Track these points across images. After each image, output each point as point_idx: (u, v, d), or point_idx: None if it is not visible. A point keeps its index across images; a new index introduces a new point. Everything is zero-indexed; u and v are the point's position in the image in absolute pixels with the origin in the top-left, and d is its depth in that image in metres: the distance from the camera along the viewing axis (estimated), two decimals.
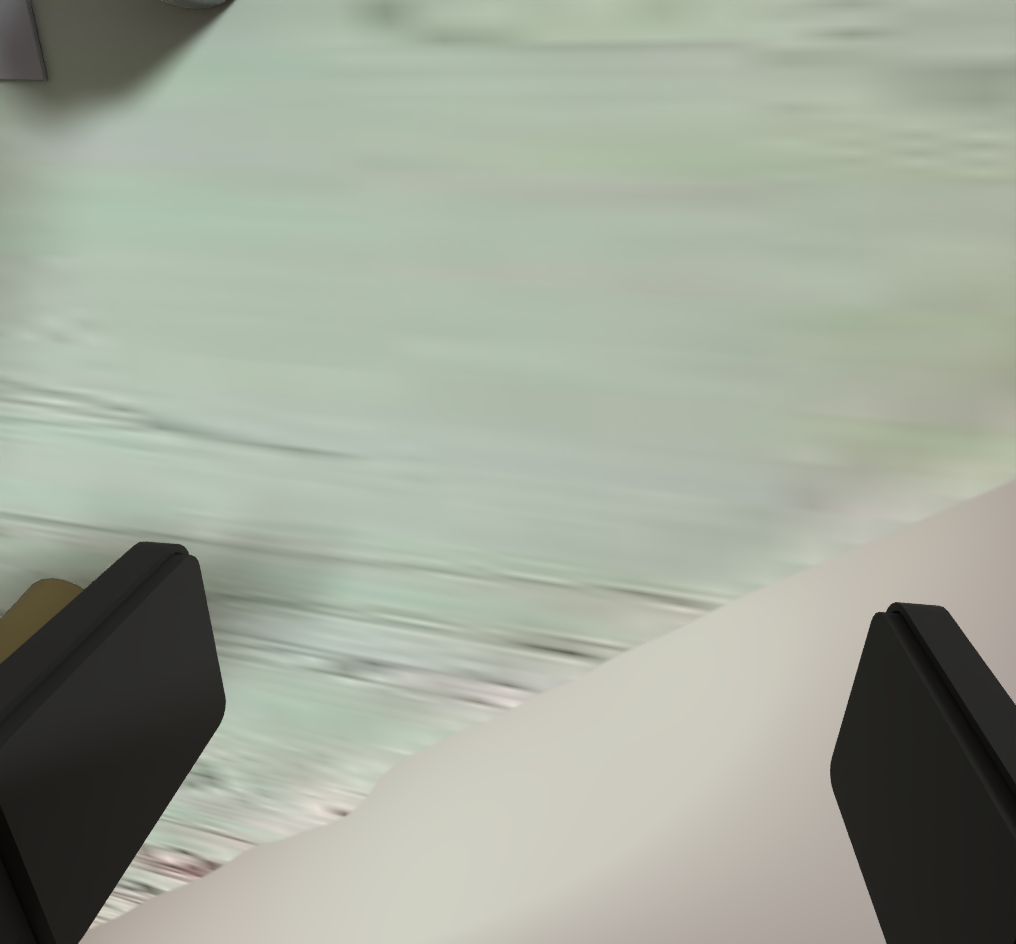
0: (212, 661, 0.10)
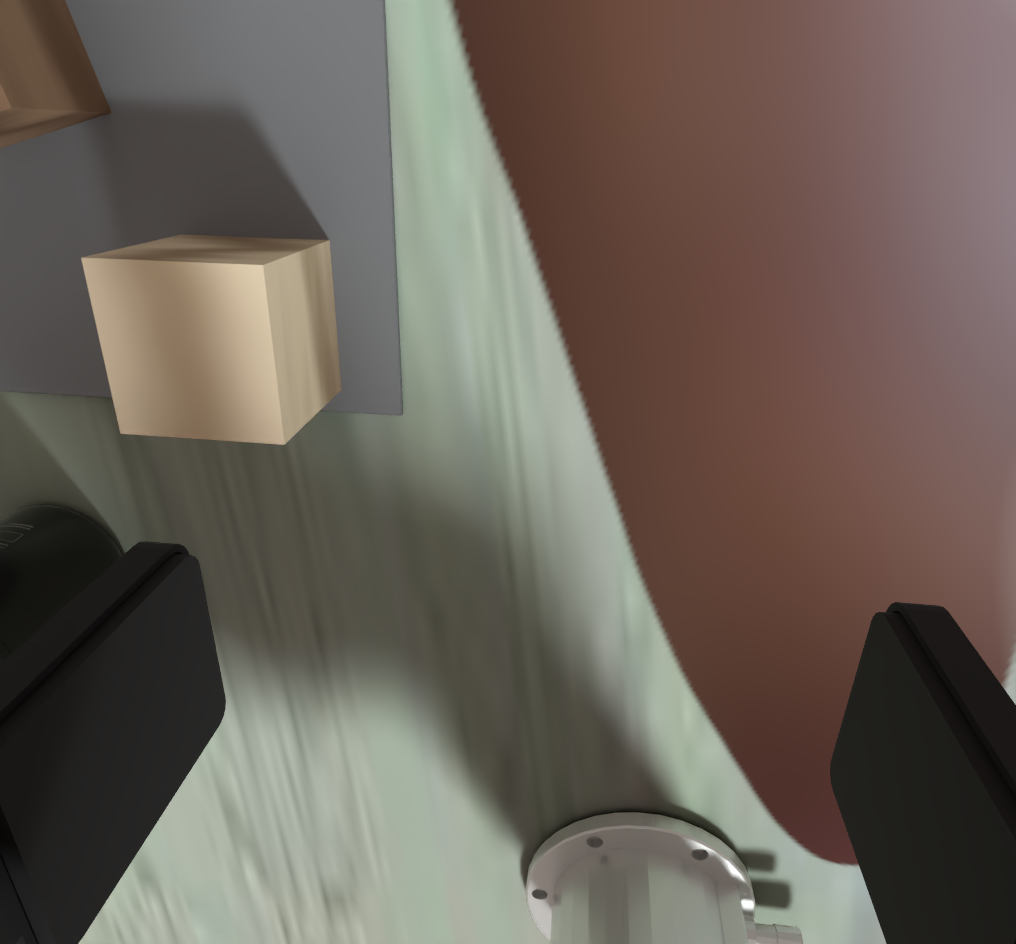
0: (212, 662, 0.10)
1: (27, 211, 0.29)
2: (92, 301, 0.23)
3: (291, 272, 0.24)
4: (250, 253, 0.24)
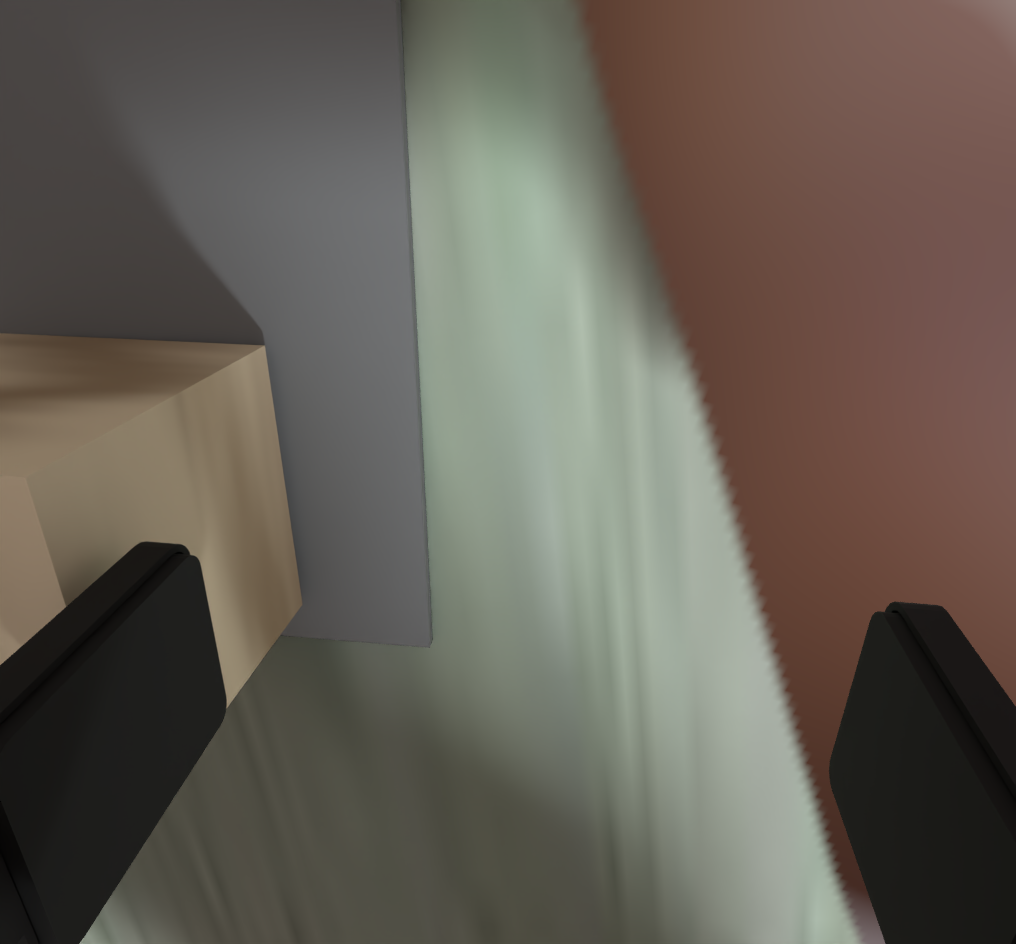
0: (213, 662, 0.10)
1: None
2: None
3: (144, 452, 0.11)
4: (52, 410, 0.11)
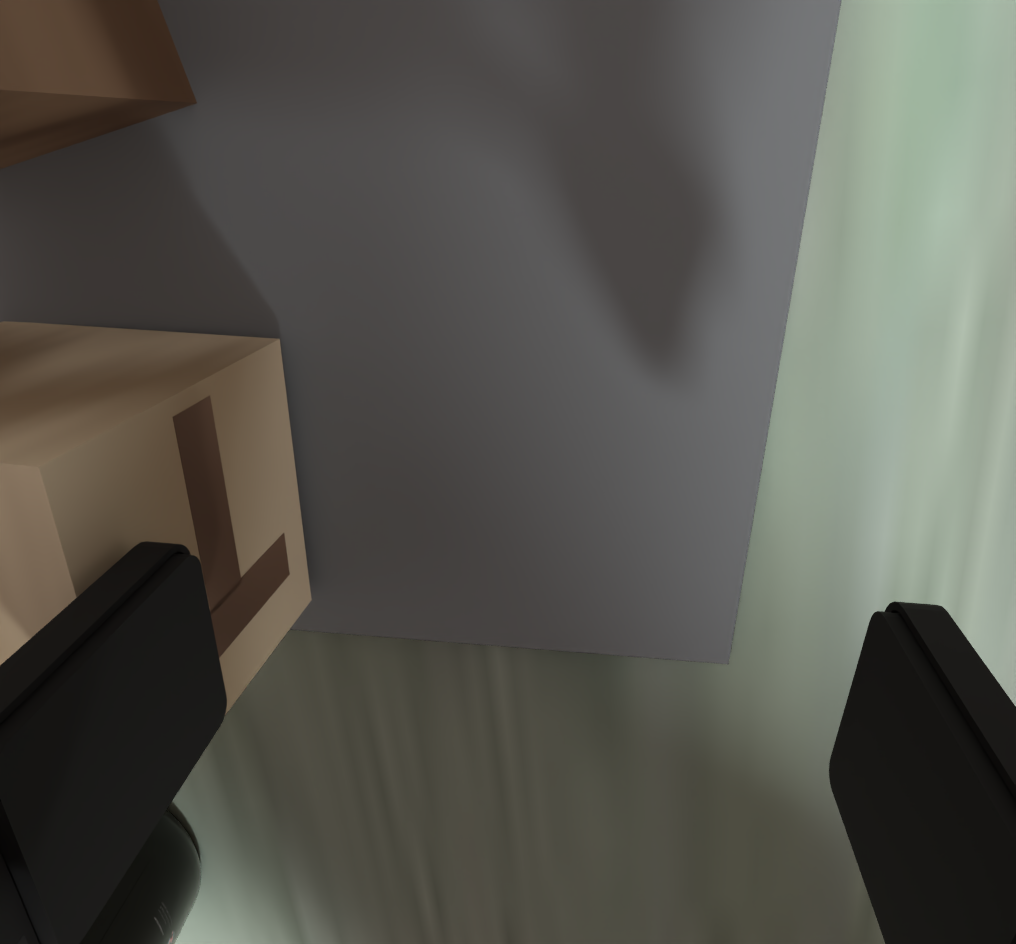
0: (213, 661, 0.10)
1: (23, 303, 0.14)
2: None
3: None
4: None
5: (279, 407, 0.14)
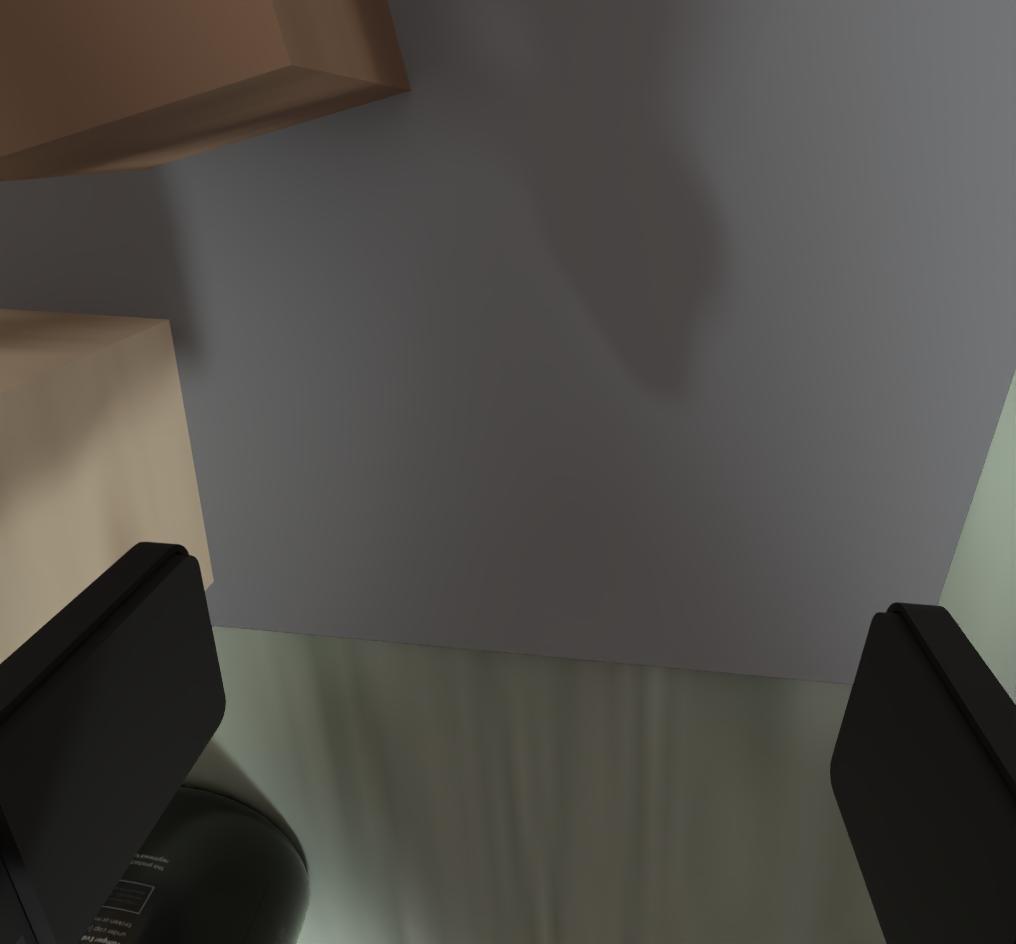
0: (212, 662, 0.10)
1: (193, 300, 0.14)
2: (178, 390, 0.14)
3: None
4: None
5: None
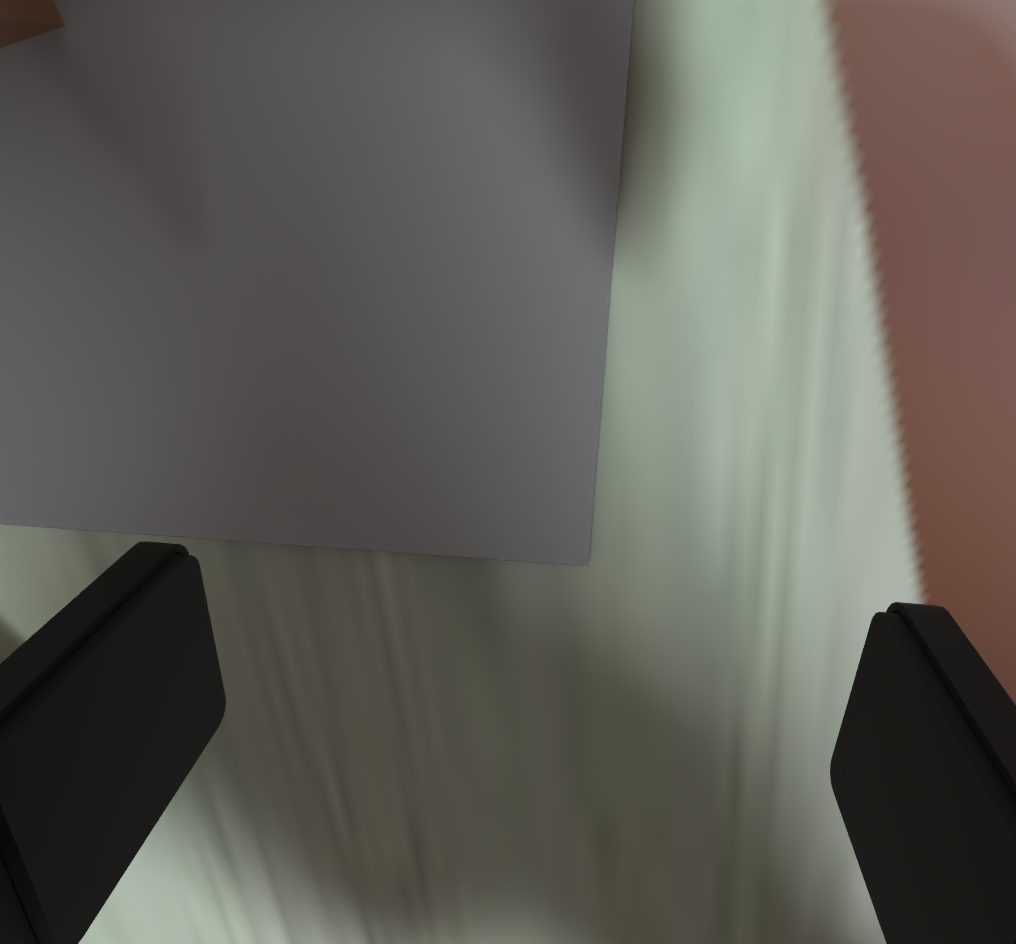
0: (212, 662, 0.10)
1: None
2: None
3: None
4: None
5: None
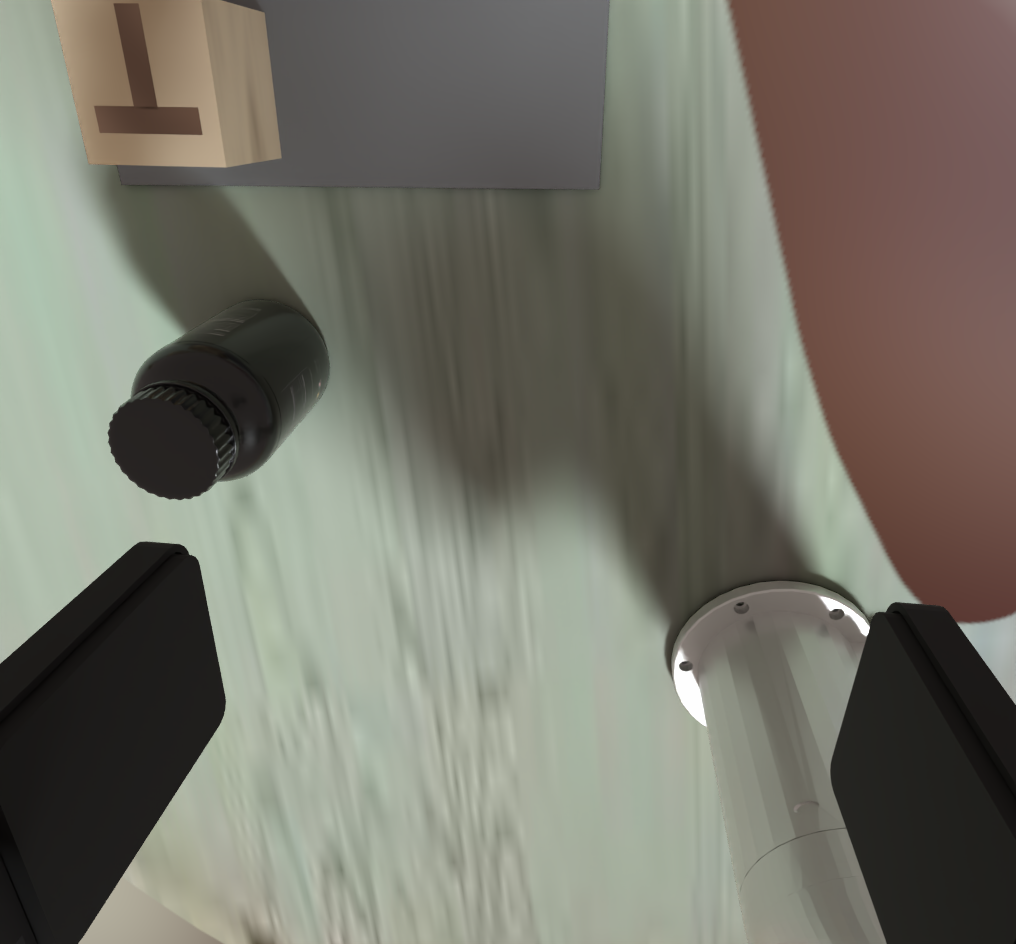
0: (211, 662, 0.10)
1: (275, 2, 0.32)
2: (268, 48, 0.33)
3: None
4: None
5: (198, 33, 0.28)
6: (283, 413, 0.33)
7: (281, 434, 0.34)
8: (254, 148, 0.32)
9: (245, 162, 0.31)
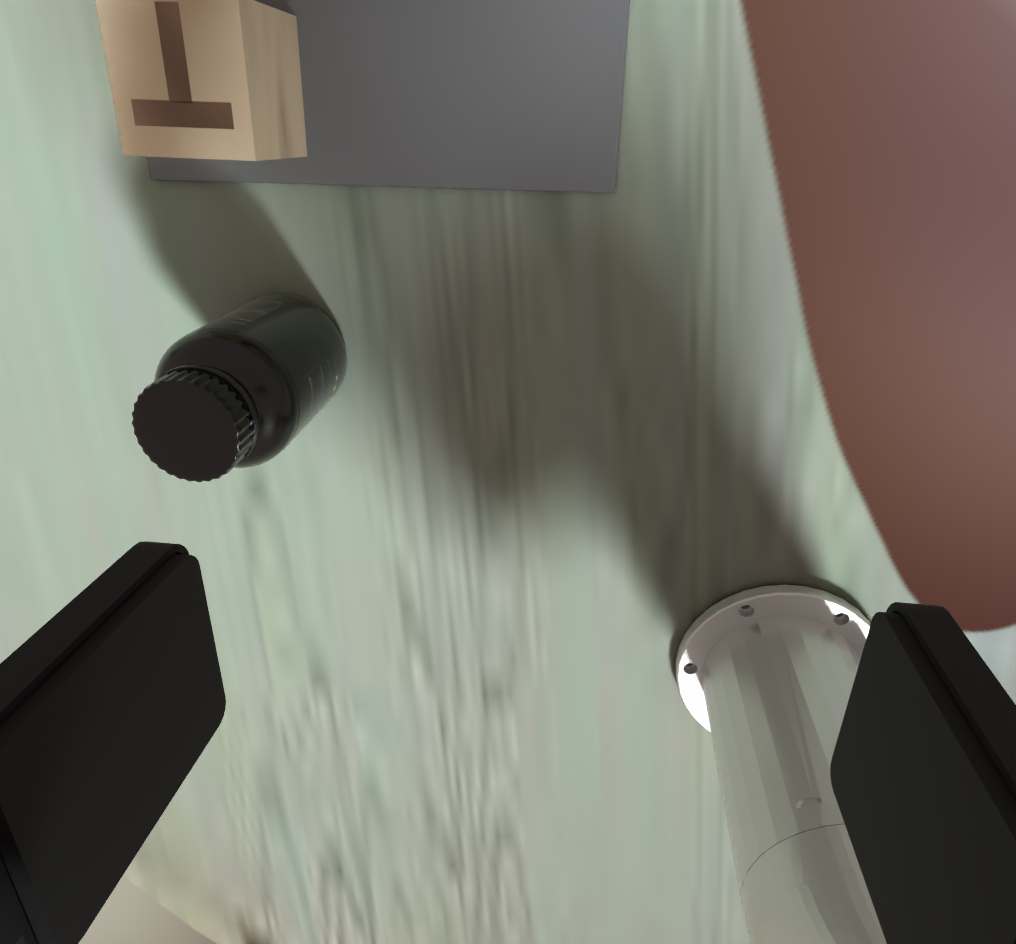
0: (212, 662, 0.10)
1: (306, 6, 0.33)
2: (298, 50, 0.34)
3: None
4: None
5: (234, 32, 0.29)
6: (302, 401, 0.34)
7: (299, 422, 0.34)
8: (282, 145, 0.33)
9: (273, 157, 0.32)
